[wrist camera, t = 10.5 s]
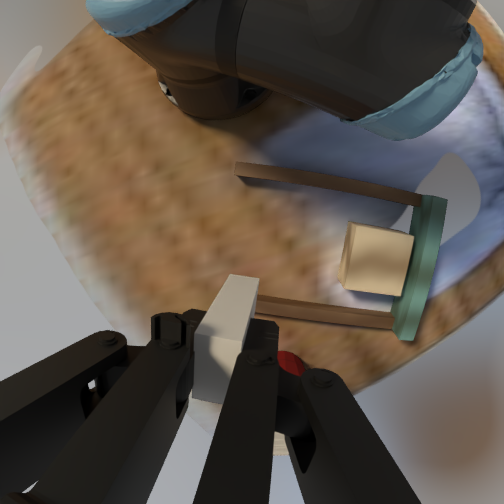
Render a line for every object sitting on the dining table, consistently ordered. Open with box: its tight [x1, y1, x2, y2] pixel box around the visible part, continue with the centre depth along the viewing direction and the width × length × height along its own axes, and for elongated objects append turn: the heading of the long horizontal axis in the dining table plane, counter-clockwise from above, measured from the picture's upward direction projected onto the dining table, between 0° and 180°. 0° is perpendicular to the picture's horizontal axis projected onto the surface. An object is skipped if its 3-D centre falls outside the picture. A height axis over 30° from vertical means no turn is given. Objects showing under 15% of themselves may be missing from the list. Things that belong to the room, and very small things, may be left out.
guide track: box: [234, 162, 448, 341], centre depth 33 cm, size 17×24×5 cm
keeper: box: [338, 221, 414, 296], centre depth 33 cm, size 7×7×4 cm
